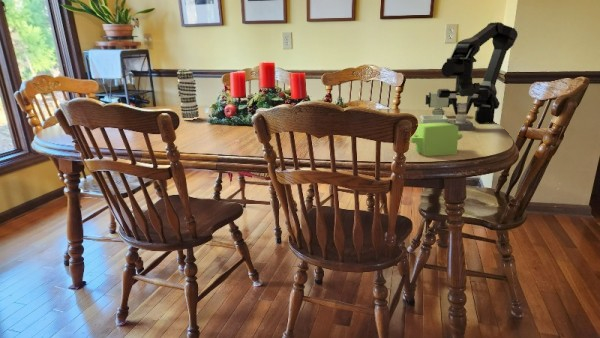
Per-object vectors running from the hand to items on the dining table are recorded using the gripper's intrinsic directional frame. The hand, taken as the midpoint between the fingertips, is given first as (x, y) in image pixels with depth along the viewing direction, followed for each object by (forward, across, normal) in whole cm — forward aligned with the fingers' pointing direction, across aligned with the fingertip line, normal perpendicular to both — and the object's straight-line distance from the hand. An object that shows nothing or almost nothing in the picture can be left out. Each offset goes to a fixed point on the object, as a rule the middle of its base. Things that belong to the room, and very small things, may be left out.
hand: (461, 114), depth 164 cm
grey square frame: (+6, 0, 0) cm, 6 cm away
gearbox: (+6, -14, -35) cm, 38 cm away
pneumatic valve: (+6, -5, +24) cm, 25 cm away
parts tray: (+6, -9, +10) cm, 15 cm away
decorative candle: (+6, -127, +26) cm, 130 cm away
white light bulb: (+4, 0, 0) cm, 4 cm away
